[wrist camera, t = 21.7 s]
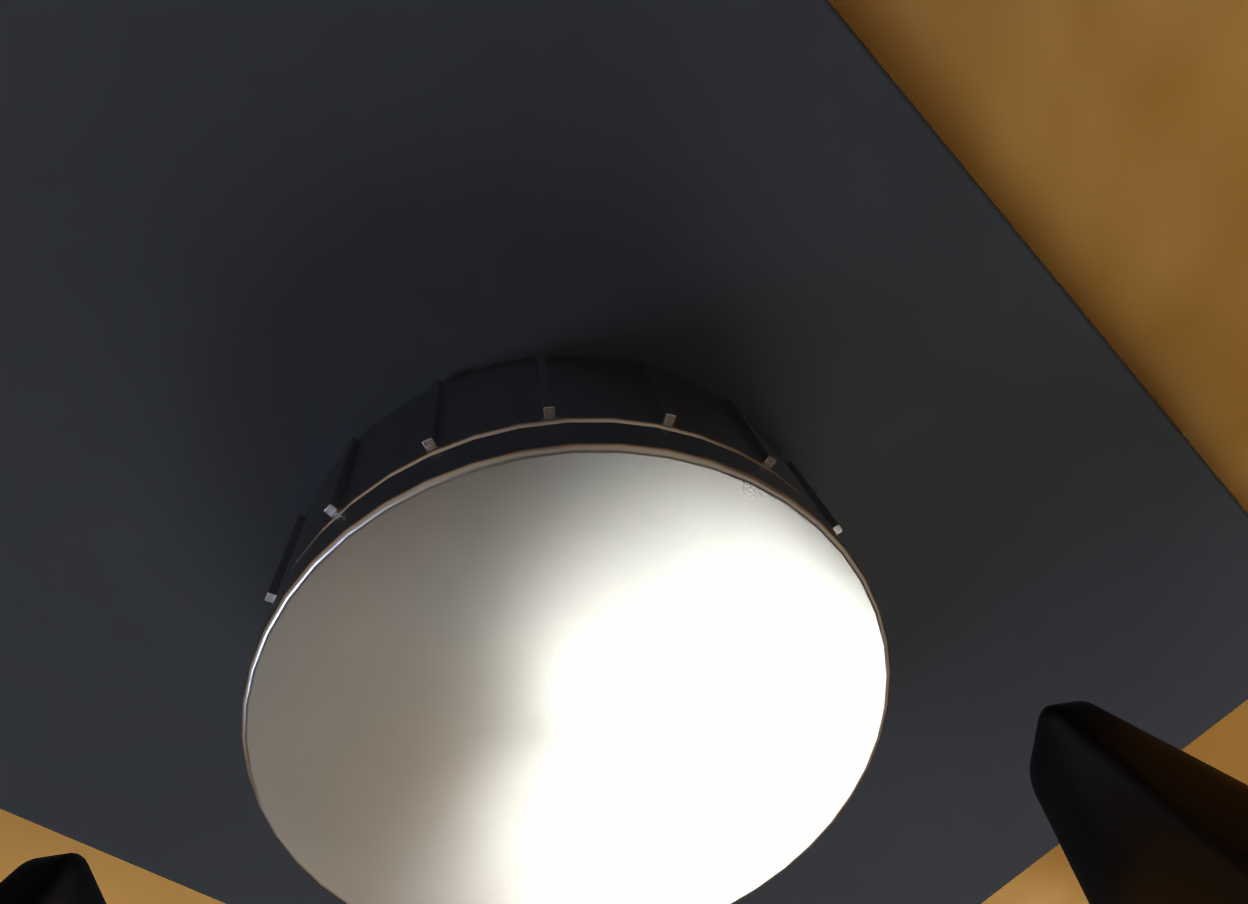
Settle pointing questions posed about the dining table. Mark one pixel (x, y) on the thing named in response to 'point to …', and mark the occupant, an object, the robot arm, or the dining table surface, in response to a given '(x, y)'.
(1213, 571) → the slate mat
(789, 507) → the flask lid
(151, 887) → the dining table surface
